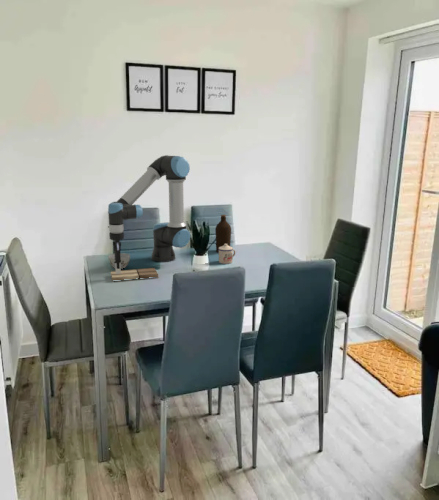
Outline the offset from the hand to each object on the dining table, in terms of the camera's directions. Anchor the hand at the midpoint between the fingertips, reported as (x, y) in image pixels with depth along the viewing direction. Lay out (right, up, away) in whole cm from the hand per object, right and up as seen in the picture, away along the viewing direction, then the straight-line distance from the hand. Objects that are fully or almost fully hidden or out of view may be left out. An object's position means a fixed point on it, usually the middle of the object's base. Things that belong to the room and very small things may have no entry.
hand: (118, 273), depth 244 cm
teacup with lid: (+61, +6, +33) cm, 69 cm away
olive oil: (+58, +12, +56) cm, 82 cm away
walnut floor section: (+15, -1, +5) cm, 16 cm away
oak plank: (+3, -2, +2) cm, 4 cm away
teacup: (-4, +2, +19) cm, 20 cm away
